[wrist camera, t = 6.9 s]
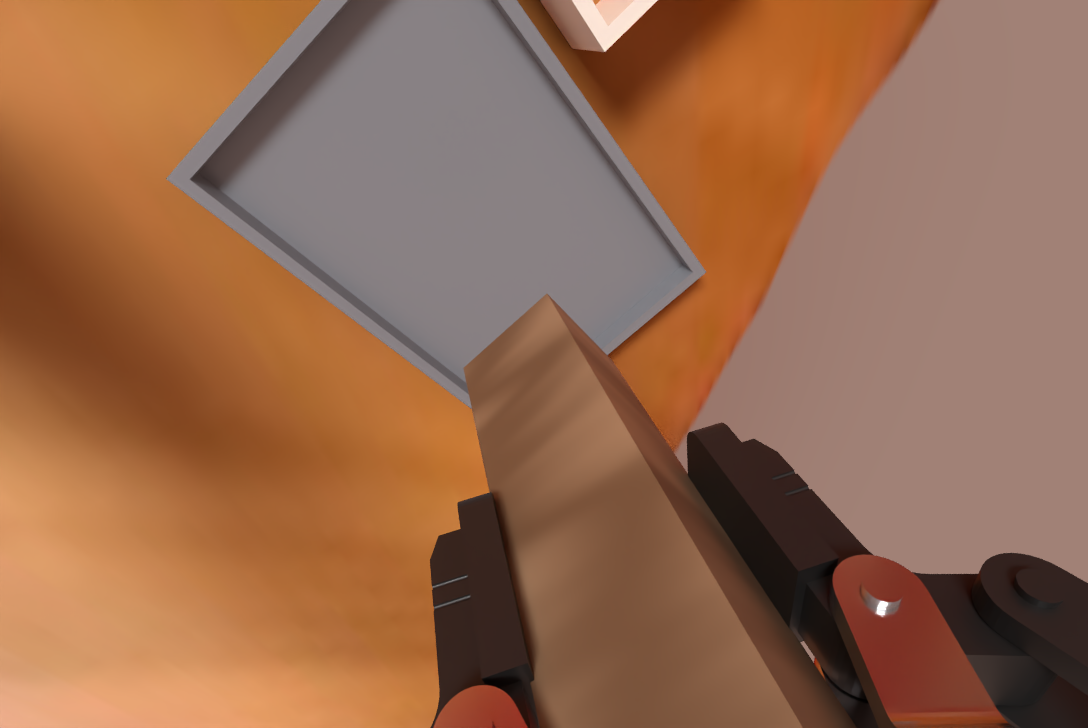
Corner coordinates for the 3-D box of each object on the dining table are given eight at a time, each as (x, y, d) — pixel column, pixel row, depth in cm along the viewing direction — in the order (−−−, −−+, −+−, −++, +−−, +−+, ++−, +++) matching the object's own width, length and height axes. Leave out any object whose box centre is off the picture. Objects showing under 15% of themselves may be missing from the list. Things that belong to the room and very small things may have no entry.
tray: (504, 420, 35) (509, 437, 33) (180, 169, 23) (166, 178, 22) (691, 260, 32) (706, 272, 30) (426, -114, 20) (429, -125, 19)
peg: (534, 425, 17) (837, 1263, 5) (463, 367, 15) (687, 1413, 4) (611, 360, 16) (1136, 1147, 5) (546, 293, 15) (1118, 1264, 3)
